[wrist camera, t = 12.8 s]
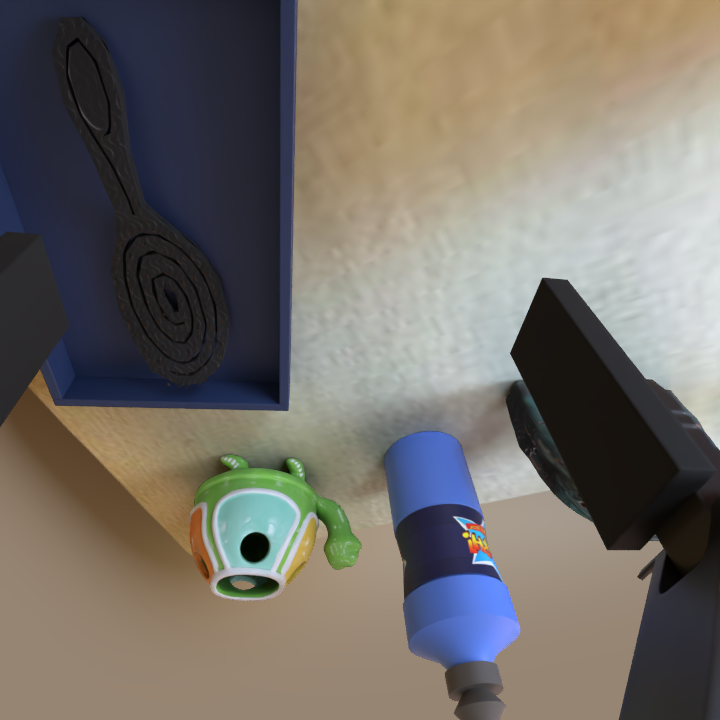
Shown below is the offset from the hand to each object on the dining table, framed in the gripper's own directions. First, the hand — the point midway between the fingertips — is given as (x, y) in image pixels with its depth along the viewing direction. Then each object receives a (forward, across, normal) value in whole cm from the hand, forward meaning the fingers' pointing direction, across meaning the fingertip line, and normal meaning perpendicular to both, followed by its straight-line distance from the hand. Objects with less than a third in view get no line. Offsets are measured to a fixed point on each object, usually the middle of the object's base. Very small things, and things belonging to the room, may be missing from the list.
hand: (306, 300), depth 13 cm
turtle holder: (+22, -2, -40) cm, 46 cm away
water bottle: (+23, +15, -34) cm, 44 cm away
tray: (+23, -11, -9) cm, 27 cm away
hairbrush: (+22, -11, -9) cm, 27 cm away
